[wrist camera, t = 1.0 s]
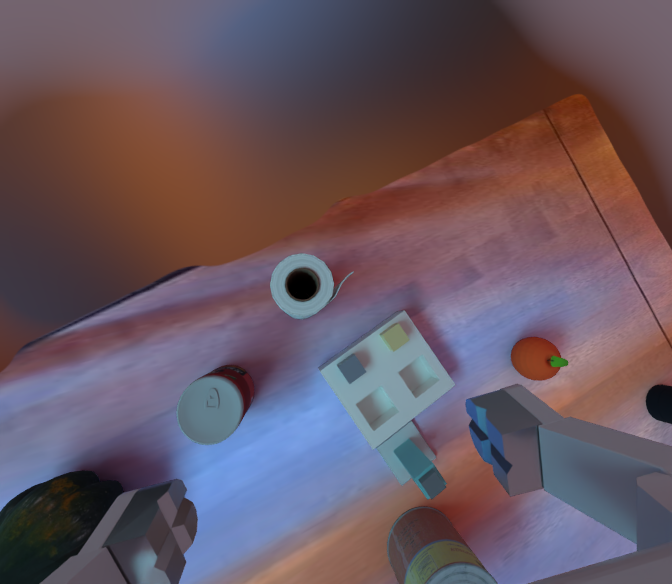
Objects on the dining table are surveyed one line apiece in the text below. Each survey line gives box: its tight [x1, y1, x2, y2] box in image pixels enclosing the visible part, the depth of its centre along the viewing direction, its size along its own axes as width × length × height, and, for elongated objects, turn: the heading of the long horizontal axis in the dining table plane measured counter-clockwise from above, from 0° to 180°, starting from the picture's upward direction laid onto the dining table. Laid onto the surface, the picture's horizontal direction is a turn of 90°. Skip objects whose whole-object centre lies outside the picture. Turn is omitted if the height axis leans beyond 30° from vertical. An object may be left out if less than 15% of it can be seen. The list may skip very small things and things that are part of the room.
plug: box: [393, 439, 447, 499], centre depth 45 cm, size 3×3×10 cm
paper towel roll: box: [270, 253, 354, 319], centre depth 40 cm, size 7×6×21 cm
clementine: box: [511, 337, 568, 380], centre depth 51 cm, size 8×7×7 cm
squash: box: [0, 471, 123, 584], centre depth 38 cm, size 14×15×15 cm
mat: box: [376, 420, 436, 485], centre depth 50 cm, size 7×7×1 cm
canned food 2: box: [387, 507, 497, 584], centre depth 43 cm, size 11×11×12 cm
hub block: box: [319, 310, 455, 450], centre depth 48 cm, size 14×16×6 cm
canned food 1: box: [177, 365, 254, 445], centre depth 42 cm, size 8×8×11 cm
